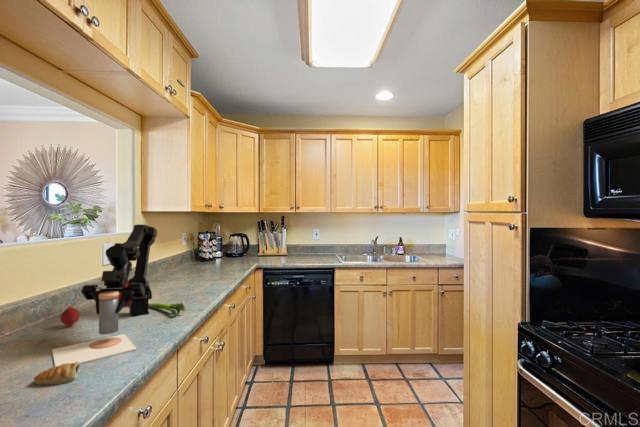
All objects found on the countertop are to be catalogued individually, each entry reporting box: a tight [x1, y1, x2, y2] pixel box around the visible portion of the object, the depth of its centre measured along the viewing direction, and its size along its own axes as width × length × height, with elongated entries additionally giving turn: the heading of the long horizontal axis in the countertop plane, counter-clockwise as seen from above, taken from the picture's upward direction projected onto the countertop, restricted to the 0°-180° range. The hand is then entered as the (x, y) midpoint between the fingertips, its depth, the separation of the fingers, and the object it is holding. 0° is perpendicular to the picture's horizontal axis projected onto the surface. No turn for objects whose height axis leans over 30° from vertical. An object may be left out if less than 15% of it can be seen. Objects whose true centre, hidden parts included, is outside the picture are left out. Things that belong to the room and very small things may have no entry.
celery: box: [148, 301, 186, 317], centre depth 144 cm, size 6×7×30 cm
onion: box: [60, 304, 81, 327], centre depth 124 cm, size 6×6×8 cm
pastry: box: [33, 362, 82, 386], centre depth 84 cm, size 9×7×4 cm
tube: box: [98, 291, 119, 335], centre depth 109 cm, size 6×6×13 cm
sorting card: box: [51, 333, 137, 367], centre depth 102 cm, size 20×17×1 cm
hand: (107, 313), depth 108 cm, fingers closed on tube, 5 cm apart
